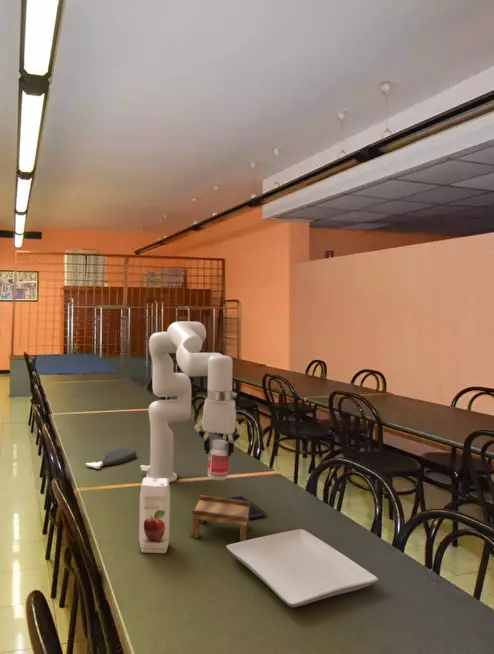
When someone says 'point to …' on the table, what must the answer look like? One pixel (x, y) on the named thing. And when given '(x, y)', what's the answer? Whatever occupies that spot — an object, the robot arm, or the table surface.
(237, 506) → the stand
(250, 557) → the square plate
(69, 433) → the table surface
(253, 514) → the phone
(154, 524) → the juice carton
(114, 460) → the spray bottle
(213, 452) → the pill bottle
